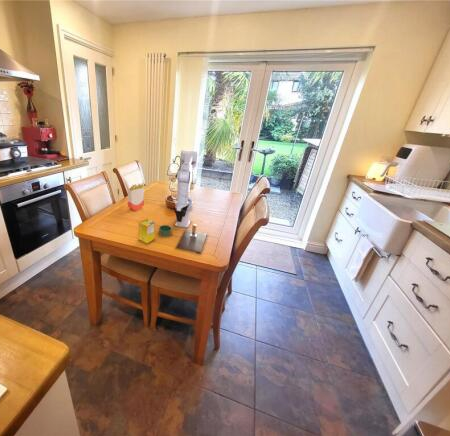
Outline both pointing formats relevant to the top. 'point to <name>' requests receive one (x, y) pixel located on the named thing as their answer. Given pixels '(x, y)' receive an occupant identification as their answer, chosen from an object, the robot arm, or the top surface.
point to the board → (192, 242)
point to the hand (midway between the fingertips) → (181, 218)
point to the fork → (193, 233)
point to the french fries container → (136, 197)
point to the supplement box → (146, 231)
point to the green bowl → (165, 230)
